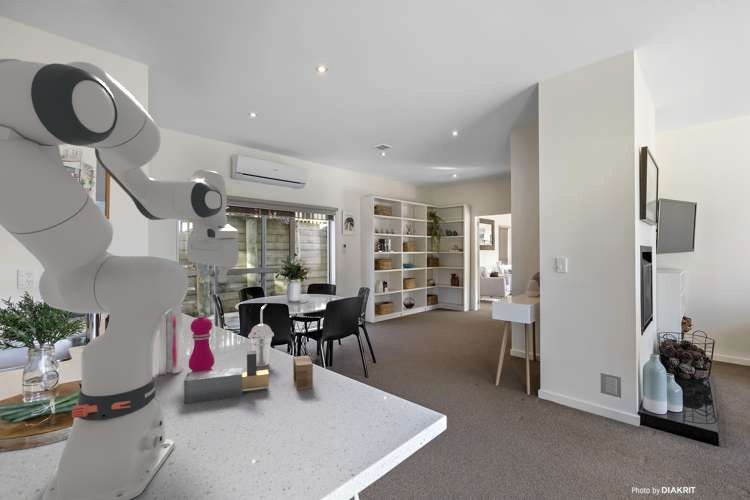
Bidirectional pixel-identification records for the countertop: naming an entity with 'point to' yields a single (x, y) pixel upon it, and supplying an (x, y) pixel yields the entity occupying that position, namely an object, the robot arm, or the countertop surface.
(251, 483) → the countertop surface
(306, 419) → the countertop surface
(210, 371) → the sleeve
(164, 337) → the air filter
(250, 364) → the gold post block
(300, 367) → the socket block
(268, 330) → the cup with straw
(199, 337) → the pepper mill
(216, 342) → the countertop surface
